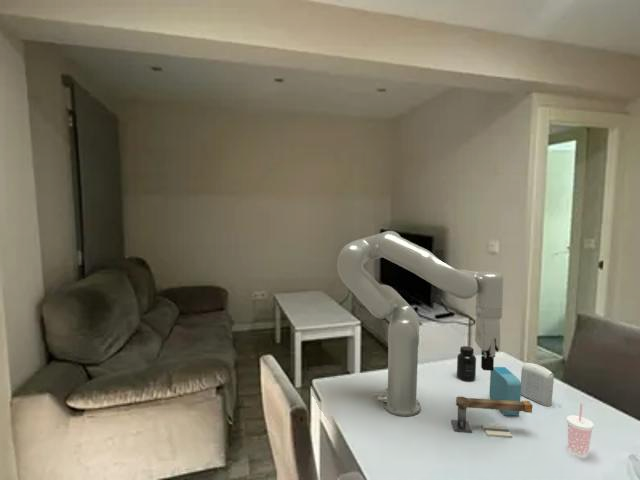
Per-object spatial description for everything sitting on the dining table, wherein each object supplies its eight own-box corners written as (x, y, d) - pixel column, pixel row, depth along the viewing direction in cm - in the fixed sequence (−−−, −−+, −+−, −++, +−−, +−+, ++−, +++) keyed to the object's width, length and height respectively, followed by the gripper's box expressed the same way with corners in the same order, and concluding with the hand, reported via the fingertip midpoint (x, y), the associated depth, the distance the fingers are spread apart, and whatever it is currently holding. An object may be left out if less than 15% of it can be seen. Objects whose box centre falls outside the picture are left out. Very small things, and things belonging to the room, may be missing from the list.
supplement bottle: (476, 376, 152) (478, 347, 150) (473, 383, 146) (474, 352, 145) (458, 372, 155) (460, 343, 154) (454, 379, 149) (456, 349, 148)
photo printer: (554, 404, 131) (556, 369, 130) (547, 407, 129) (549, 372, 128) (524, 391, 140) (526, 358, 139) (517, 394, 138) (519, 361, 136)
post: (454, 431, 115) (455, 409, 114) (451, 422, 120) (451, 401, 119) (472, 432, 114) (473, 411, 114) (467, 423, 119) (468, 402, 119)
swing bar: (457, 408, 115) (457, 401, 115) (454, 402, 118) (455, 395, 118) (532, 414, 112) (533, 406, 112) (527, 407, 116) (528, 399, 116)
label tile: (487, 436, 113) (487, 433, 113) (482, 426, 118) (482, 424, 118) (512, 437, 112) (512, 435, 112) (506, 428, 117) (506, 425, 117)
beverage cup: (566, 442, 110) (569, 395, 109) (592, 451, 106) (596, 403, 105) (562, 453, 105) (566, 404, 104) (590, 462, 102) (594, 412, 100)
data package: (519, 417, 123) (521, 381, 122) (505, 417, 123) (507, 381, 122) (501, 398, 135) (503, 365, 134) (488, 398, 135) (490, 365, 134)
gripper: (469, 305, 127) (468, 359, 128) (483, 318, 112) (481, 379, 113) (493, 305, 126) (492, 360, 127) (510, 319, 111) (508, 380, 113)
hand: (487, 369), depth 120 cm, fingers closed
